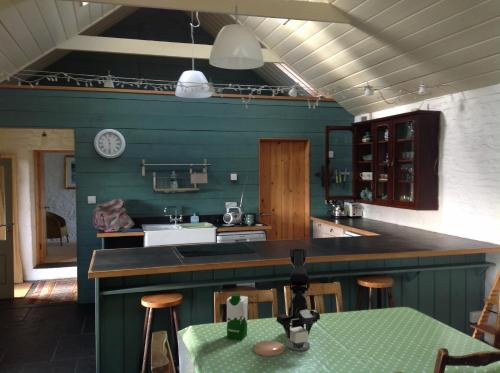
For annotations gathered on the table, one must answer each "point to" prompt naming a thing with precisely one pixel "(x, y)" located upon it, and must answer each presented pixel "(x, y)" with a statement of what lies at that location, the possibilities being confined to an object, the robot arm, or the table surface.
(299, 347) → the grey rounded piece
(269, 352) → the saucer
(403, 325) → the table surface
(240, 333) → the milk carton
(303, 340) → the cream colored cube
